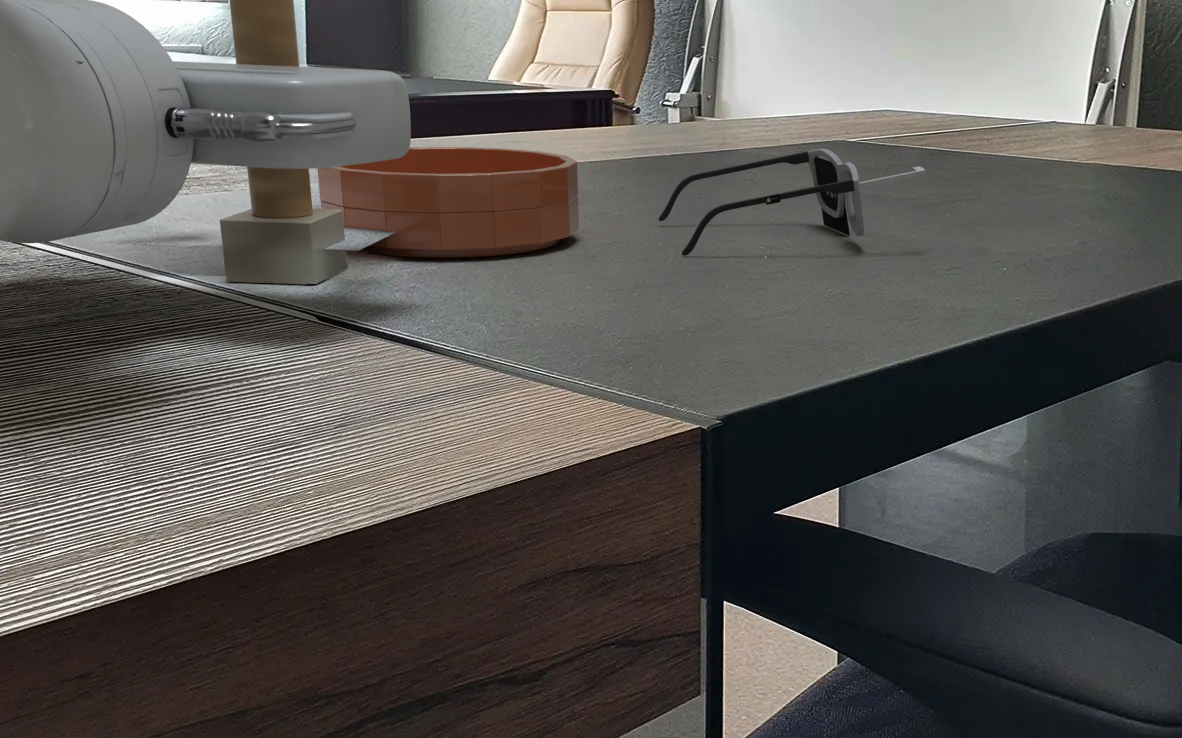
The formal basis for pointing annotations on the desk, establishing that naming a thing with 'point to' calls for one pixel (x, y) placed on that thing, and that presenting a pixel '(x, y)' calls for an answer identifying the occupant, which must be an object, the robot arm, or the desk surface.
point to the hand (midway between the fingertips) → (279, 98)
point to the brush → (277, 178)
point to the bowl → (457, 201)
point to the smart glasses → (804, 191)
